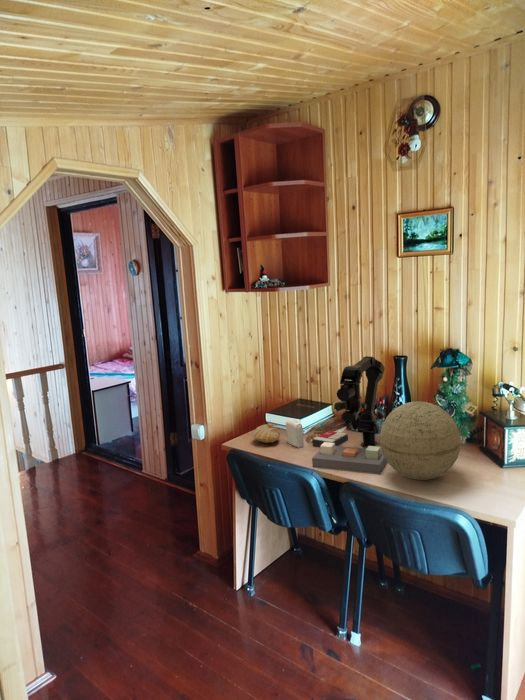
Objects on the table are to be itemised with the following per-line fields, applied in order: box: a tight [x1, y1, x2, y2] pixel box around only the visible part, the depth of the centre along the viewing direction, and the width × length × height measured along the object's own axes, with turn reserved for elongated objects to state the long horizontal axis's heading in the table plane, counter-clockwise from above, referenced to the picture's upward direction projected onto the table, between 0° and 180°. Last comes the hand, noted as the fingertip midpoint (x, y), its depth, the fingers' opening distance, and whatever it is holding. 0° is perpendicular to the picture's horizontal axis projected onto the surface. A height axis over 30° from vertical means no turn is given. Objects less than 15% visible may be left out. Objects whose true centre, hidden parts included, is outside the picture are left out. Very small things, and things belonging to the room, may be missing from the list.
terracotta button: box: [343, 448, 358, 457], centre depth 221 cm, size 5×5×5 cm
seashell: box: [252, 422, 281, 444], centre depth 258 cm, size 8×22×15 cm
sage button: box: [366, 445, 381, 460], centre depth 216 cm, size 5×5×5 cm
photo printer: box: [285, 418, 305, 448], centre depth 248 cm, size 10×4×12 cm, turn 29°
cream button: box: [319, 442, 335, 455], centre depth 225 cm, size 5×5×5 cm
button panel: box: [311, 445, 388, 475], centre depth 221 cm, size 16×29×4 cm, turn 64°
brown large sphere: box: [379, 401, 462, 481], centre depth 200 cm, size 30×30×30 cm
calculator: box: [312, 430, 349, 449], centre depth 247 cm, size 11×4×15 cm
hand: (355, 429), depth 227 cm, fingers closed
